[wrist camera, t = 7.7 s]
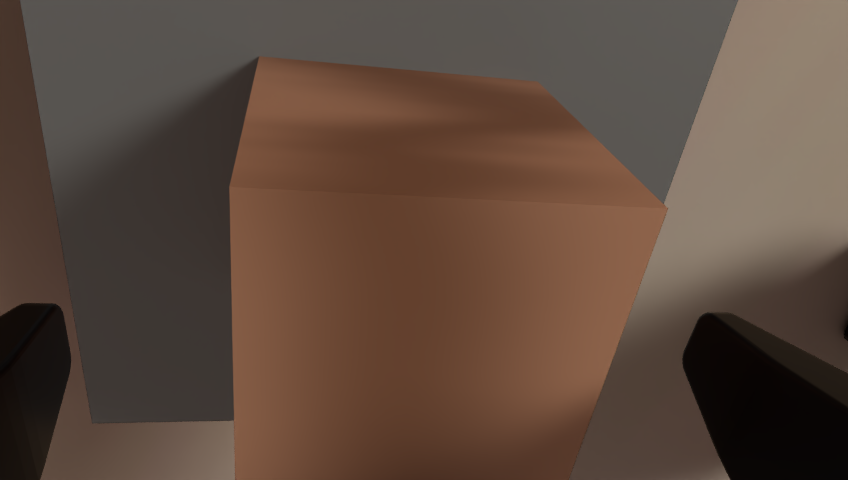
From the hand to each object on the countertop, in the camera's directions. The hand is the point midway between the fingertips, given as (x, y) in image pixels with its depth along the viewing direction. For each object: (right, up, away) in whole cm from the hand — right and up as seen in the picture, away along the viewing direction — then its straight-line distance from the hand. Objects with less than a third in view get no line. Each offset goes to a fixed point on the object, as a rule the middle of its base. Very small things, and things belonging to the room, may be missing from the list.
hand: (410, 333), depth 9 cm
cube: (0, +2, +4) cm, 4 cm away
